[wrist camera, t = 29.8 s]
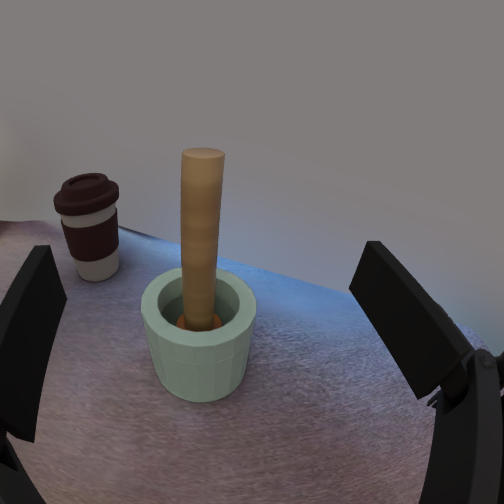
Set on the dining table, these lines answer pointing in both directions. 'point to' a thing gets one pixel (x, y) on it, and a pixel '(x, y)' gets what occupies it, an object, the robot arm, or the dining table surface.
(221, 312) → the jar
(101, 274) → the coffee cup
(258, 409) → the dining table surface
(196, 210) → the orange-tipped wooden dowel
